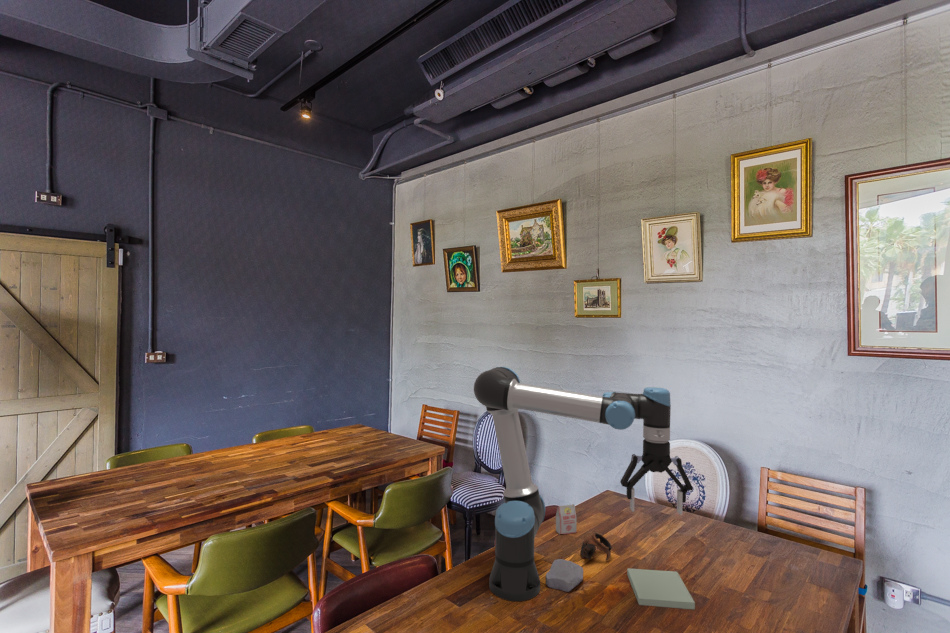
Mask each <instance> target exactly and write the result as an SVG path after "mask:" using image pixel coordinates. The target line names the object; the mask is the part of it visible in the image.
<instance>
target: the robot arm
mask: <svg viewBox="0 0 950 633" xmlns="http://www.w3.org/2000/svg"><path fill="white" fill-rule="evenodd" d="M473 394H474V397H475V399H476V400H477V401H478V403H479V404H481V405H482V406H484V407H485V408H486V412H487V413H489V414H490V415H491V416H492V420H493V421H492V422H493V425H494V430H495V434H496V435H495V436H496V440H497V444H498V450H499V455H500V459H501V460H500V461H501V465H502V466H501V467H502V470H503V475H504V476H503V477H504V482H505V485H506V486H505V489H504V491H503V493H502V494H503V500H504V502H503V503H501V504H500V505H499V506H498V507H497V508H496V510H495V517H494V526H495V527H494V528H495V529H494V530H495V531H494V532H495V534H494V535H495V538H494V544H495V545H494V548H495V550H494V553H495V554H494V562H493V566H492V569H491V570H490V574H489V578H488V579H489V581H488V582H489V583H488V586H489V587H488V588H489V590H490V591H491V593H492V594H493V595H494V596H496V597H497V598H499V599H502V600H504V601H505V600H506V601H508V602H524V601H529V600H531V599H533V598H535V597H536V596H537V595H538V594H539V593H540V591H541V579H540V575H539V573H538V569H537V566H536V563H535V538H536V535H537V533H538V531H539V529H540V527H541V525H542V524H543V523H544V519H545V516H546V515H545V514H546V504H545V503H546V502H545V501H544V498H543V496H542V495H541V494H540V491H539V486H538V485H536V484H535V483H534V482H533V480H532V474H531V470H530V469H531V468H530V466H529V464H530V463H529V459H528V455H527V449H526V445H525V444H526V443H525V439H524V436H523V430H522V425H521V424H522V423H521V420H520V415H519V410H524V411H531V412H536V413H541V414H547V415H553V416H559V417H564V418H569V419H575V420H582V421H587V422H592V423H598V424H603V425H608V426H611V428H613V429H615V430H618V431H619V430H623V431H624V430H626V429H628V428H630V427H631V426H632V424H633V423H634V420H643V426H642V429H643V430H642V431H643V432H642V434H643V435H642V437H643V440H642V455H636V454H635V453H632V454H631V459H630V460H631V461H630V463H629V465H628V466H627V468H626V470H625V472H624V474H622V475H623V476H622V477H621V479H620V480H619V481H620V482H619V483H620V484H621V486H622V487H623V488H624V487H625V488H626V498H627V500H629V510H630V511H631V512H635V495H636V494H635V488H634V486H636V484H637V483H638V482H639V481H640V480H641V479H642V478H643V477H644V476H645V475H646V474H647V473H649V471H650V472H651V473H656V472H657V473H661V474H662V473H665V472H666V473H667V475H668V476H669V477H670V478H671V479H672V480H673V481H674V483H675V484H676V485H677V486H678V487H679V488H677V490H676V512H677V513H678V514H679V515H680V516H683V503H686V501H687V493H688V492H689V491H693V490H694V487H693V485H692V483H691V481H690V479H689V477H688V475H687V473H686V471H685V469H684V467H683V463H682V459H681V458H680V457H679V456H678V455H676V456H674V457H671V442H670V440H671V408H672V407H671V406H672V405H671V404H672V403H671V393H670V391H669V390H668V389H667V388H664V387H657V386H656V387H654V386H651V387H650V386H649V387H645V388H643V392H642V393H629V392H628V393H627V392H616V391H613V392H610V391H605V392H604V393H603V394H602V396H601V395H596V394H595V395H594V394H589V393H583V392H575V391H570V390H564V389H559V388H552V387H546V386H541V385H540V386H539V385H533V384H528V383H521V381H520V377H519V375H518V374H517V373H516V372H515V371H514V370H513V369H511V368H510V367H506V366H496V367H493V368H491V369H489V370H485V371H483V372H481V373H480V374H479V375H478V376H477V378H476V379H475V380H474V384H473ZM640 462H642V463H643V464H642V465H641V466H640V468H639V469H638V470H637V471H636V472H635V469H636V467H637V464H639V463H640ZM671 464H673V465H674V466H676V468H677V471H678V473H679V475H680V477H681V479H682V480H683V483H684V485H683V483H682V482H681V481H680V479H678V478H677V476H676V475H675V474H674V472H672V470H671V469H670V468H669V466H670V465H671ZM633 472H635V473H634V474H633ZM632 475H633V476H632Z"/></svg>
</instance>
